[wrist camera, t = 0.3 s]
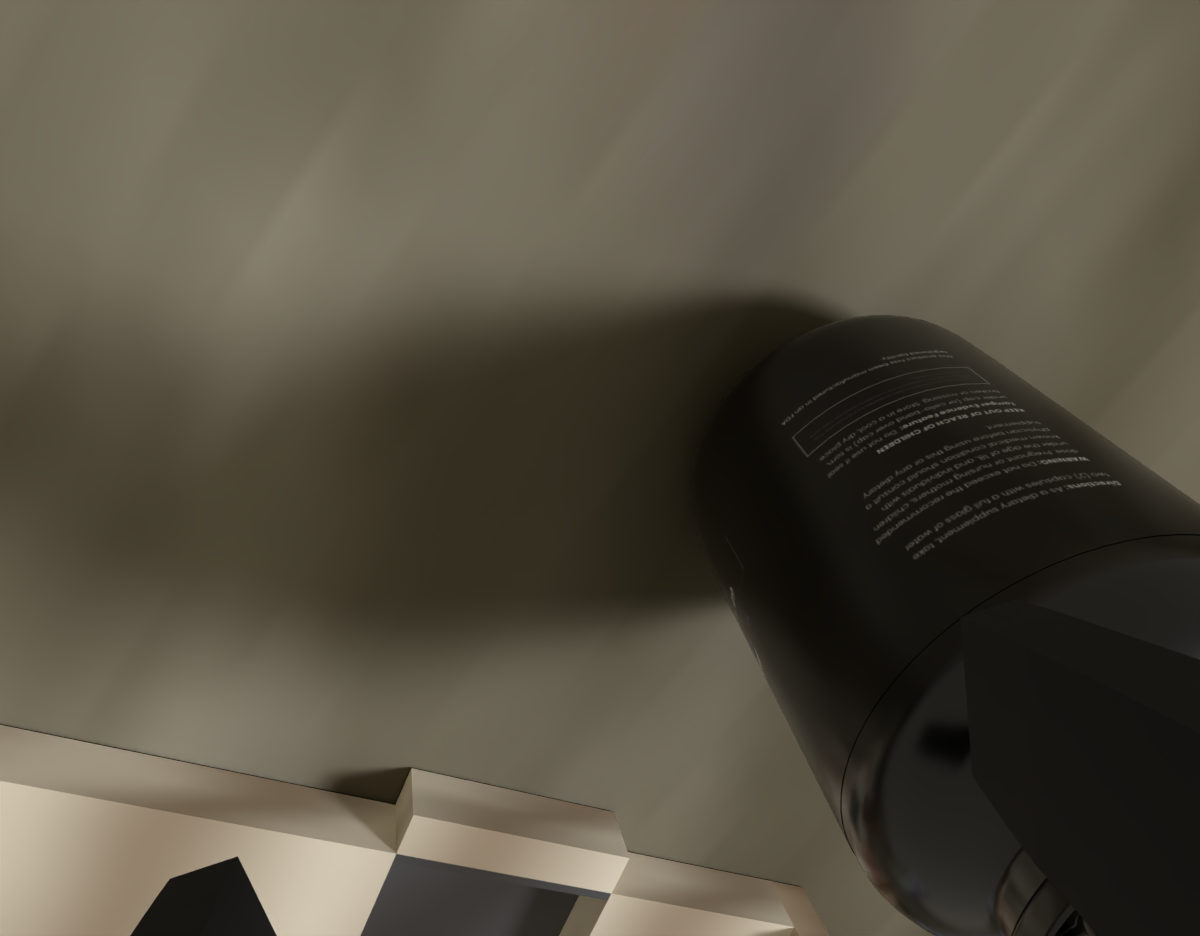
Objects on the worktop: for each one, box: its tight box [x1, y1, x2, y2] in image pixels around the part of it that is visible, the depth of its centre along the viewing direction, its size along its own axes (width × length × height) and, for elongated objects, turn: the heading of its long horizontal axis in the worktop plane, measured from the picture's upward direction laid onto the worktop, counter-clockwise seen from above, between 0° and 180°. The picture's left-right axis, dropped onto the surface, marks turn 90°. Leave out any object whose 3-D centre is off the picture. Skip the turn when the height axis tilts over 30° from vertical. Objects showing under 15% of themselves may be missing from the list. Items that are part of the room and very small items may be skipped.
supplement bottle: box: [690, 315, 1200, 936], centre depth 14 cm, size 7×7×12 cm
